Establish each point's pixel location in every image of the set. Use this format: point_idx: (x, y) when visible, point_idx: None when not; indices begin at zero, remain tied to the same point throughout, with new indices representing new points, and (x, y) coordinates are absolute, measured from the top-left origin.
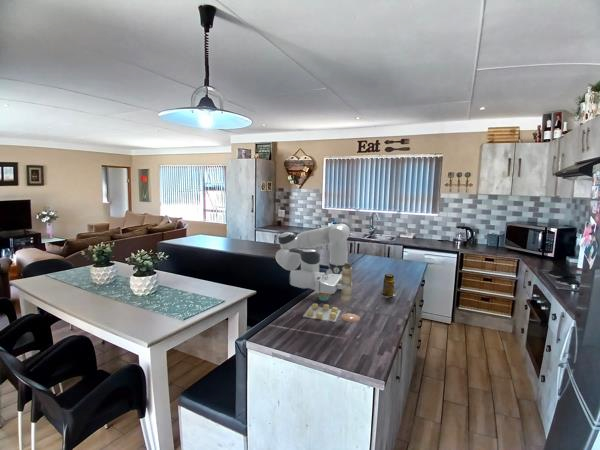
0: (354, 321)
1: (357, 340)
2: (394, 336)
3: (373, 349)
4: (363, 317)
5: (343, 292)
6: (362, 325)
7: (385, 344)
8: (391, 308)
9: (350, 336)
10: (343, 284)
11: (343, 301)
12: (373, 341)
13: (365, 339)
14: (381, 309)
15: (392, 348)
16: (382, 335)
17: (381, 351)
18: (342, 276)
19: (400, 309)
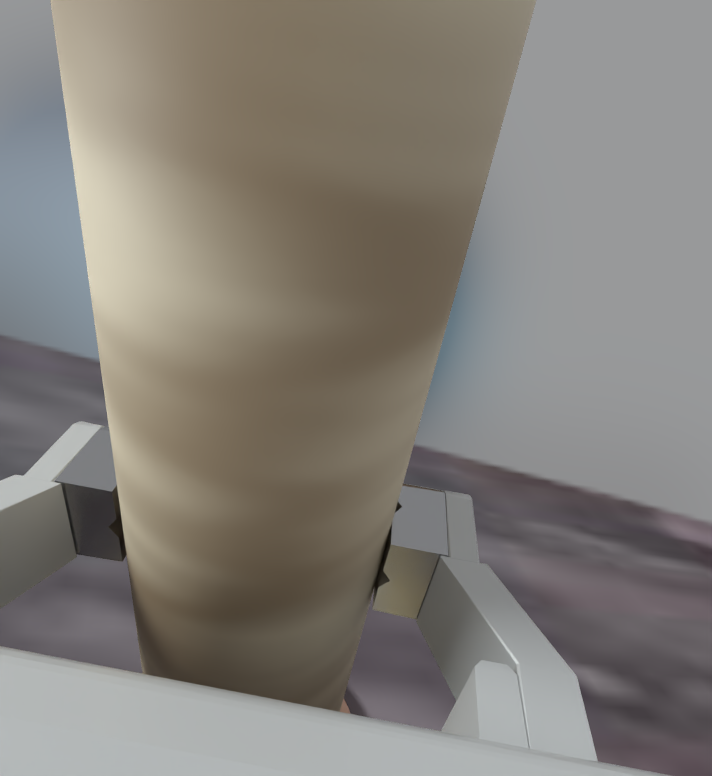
0: (345, 702)
1: (666, 690)
2: (463, 465)
3: (700, 588)
4: None
5: (342, 682)
6: (375, 633)
7: (588, 519)
8: (22, 406)
9: (643, 756)
10: (369, 567)
11: None
12: (599, 577)
13: (607, 627)
14: (25, 461)
15: (608, 495)
16: (483, 517)
17: (684, 549)
18: (355, 402)
19: (55, 372)
